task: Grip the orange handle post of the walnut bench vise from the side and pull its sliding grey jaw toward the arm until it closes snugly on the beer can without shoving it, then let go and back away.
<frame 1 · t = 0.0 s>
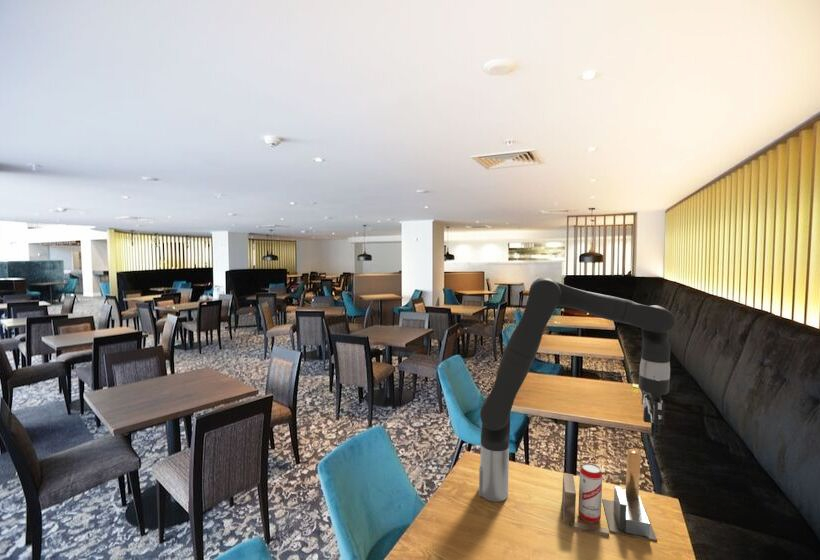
hand: (651, 428, 117), 29 cm above the table, tool pointing down, fingers open, 8 cm apart
vise frame: (603, 520, 121), on the table
jaw: (630, 488, 120), point 10 cm above the table, slide at 0.0 cm
beer can: (589, 518, 122), resting on vise frame
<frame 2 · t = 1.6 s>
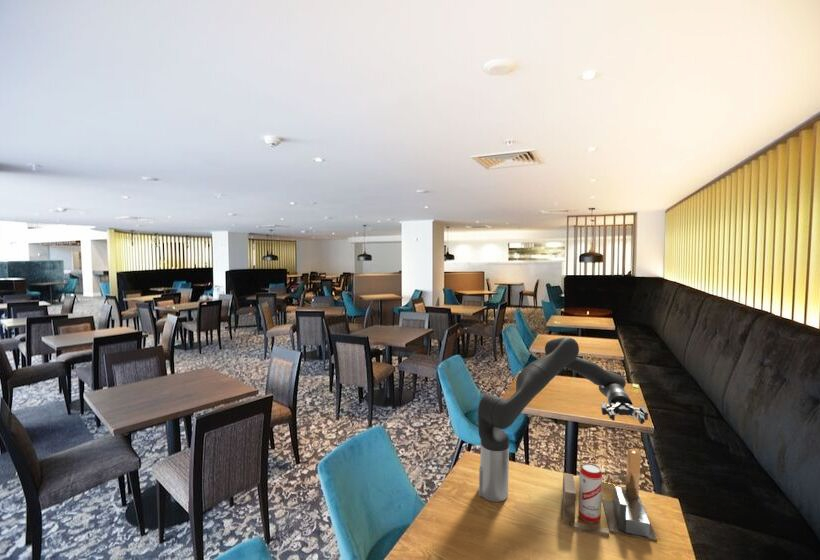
hand: (627, 419, 135), 24 cm above the table, tool horizontal, fingers open, 8 cm apart
nothing on the table moved.
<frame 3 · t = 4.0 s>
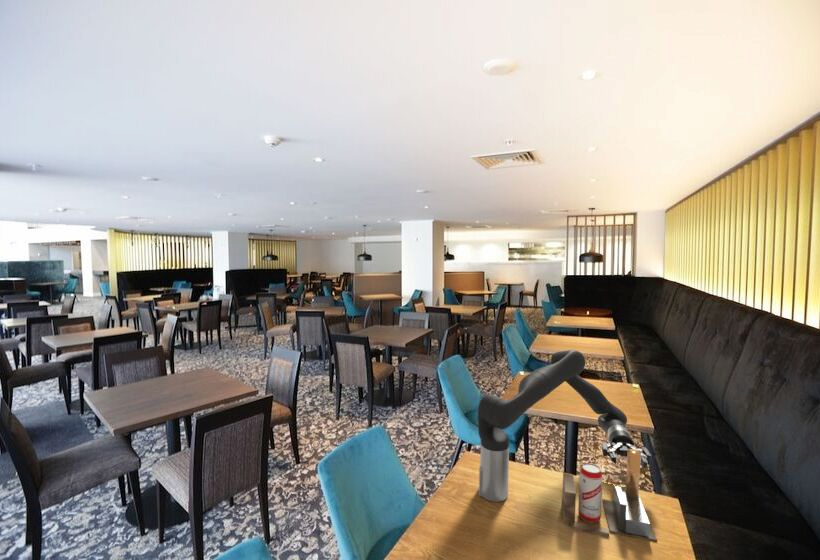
hand: (629, 463, 129), 13 cm above the table, tool horizontal, fingers open, 8 cm apart
nothing on the table moved.
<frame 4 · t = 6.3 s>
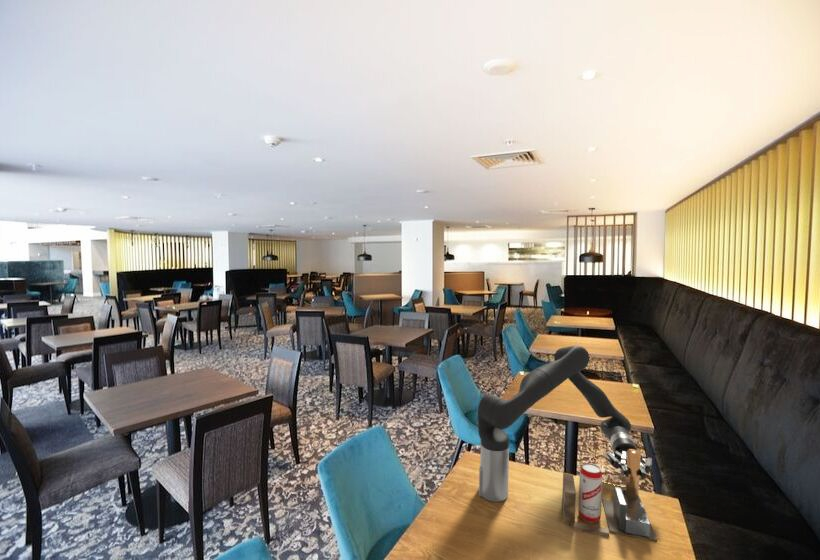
hand: (635, 475, 122), 13 cm above the table, tool horizontal, fingers closed on jaw, 3 cm apart
jaw: (629, 488, 120), point 10 cm above the table, slide at 0.0 cm, touching gripper
everything else where it was.
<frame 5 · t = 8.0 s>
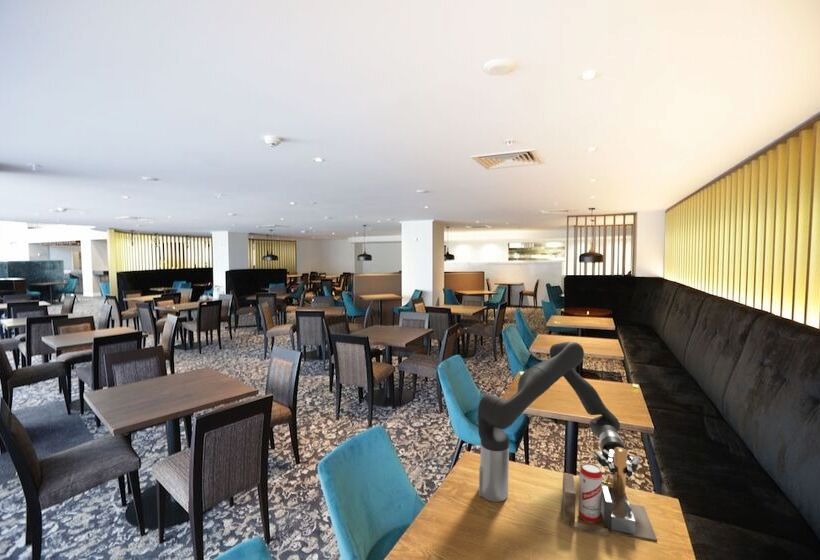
hand: (621, 472, 123), 13 cm above the table, tool horizontal, fingers closed on jaw, 3 cm apart
jaw: (616, 486, 121), point 10 cm above the table, slide at 3.7 cm, touching gripper
everything else where it was.
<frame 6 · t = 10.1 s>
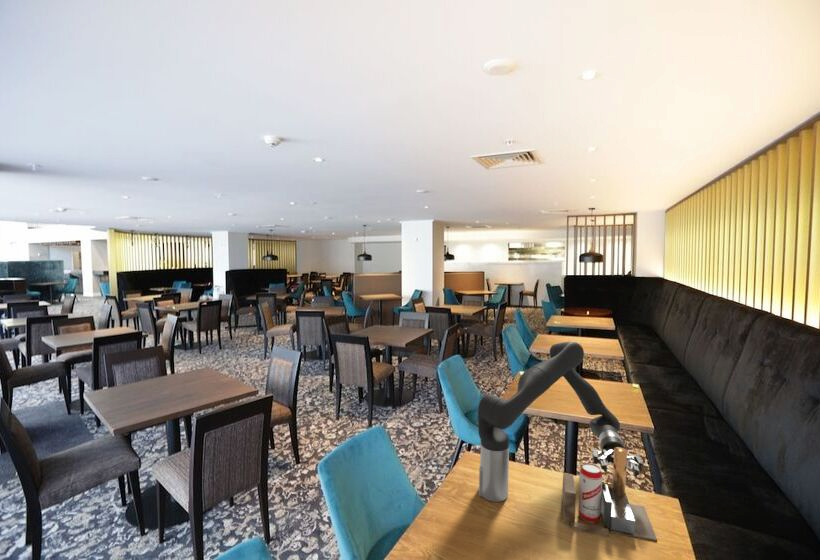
hand: (620, 471, 124), 13 cm above the table, tool horizontal, fingers open, 8 cm apart
jaw: (616, 486, 121), point 10 cm above the table, slide at 3.8 cm
everything else where it was.
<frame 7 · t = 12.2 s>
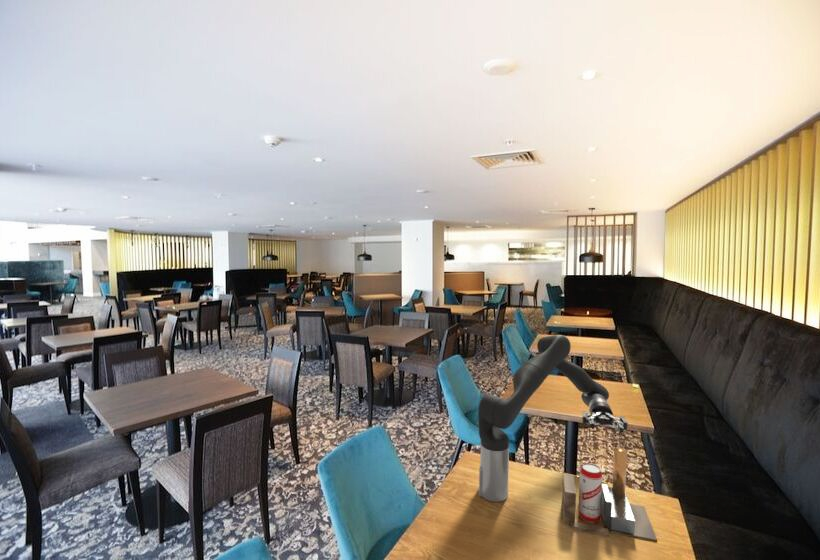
hand: (606, 428, 136), 21 cm above the table, tool horizontal, fingers open, 8 cm apart
nothing on the table moved.
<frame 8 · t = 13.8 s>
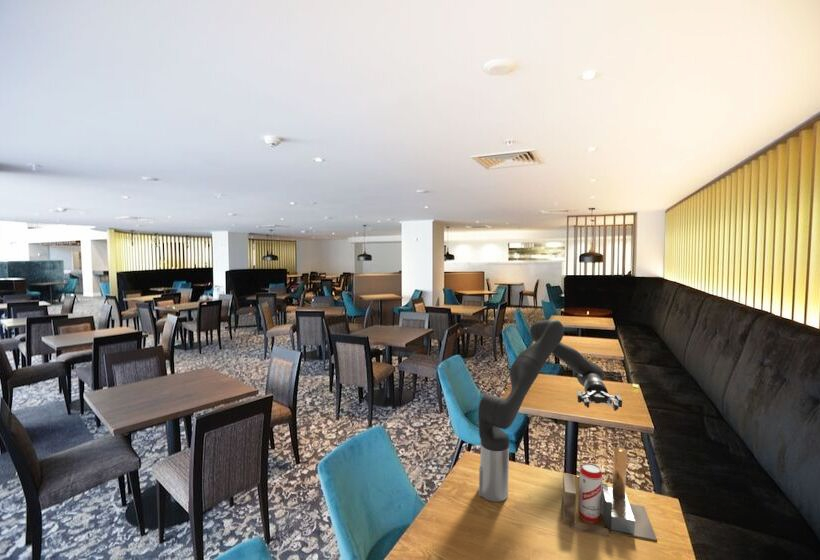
hand: (601, 406, 136), 28 cm above the table, tool horizontal, fingers open, 8 cm apart
nothing on the table moved.
at the end: jaw slide at 3.8 cm; beer can moved 0.2 cm from its start; beer can tilted 0° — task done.
